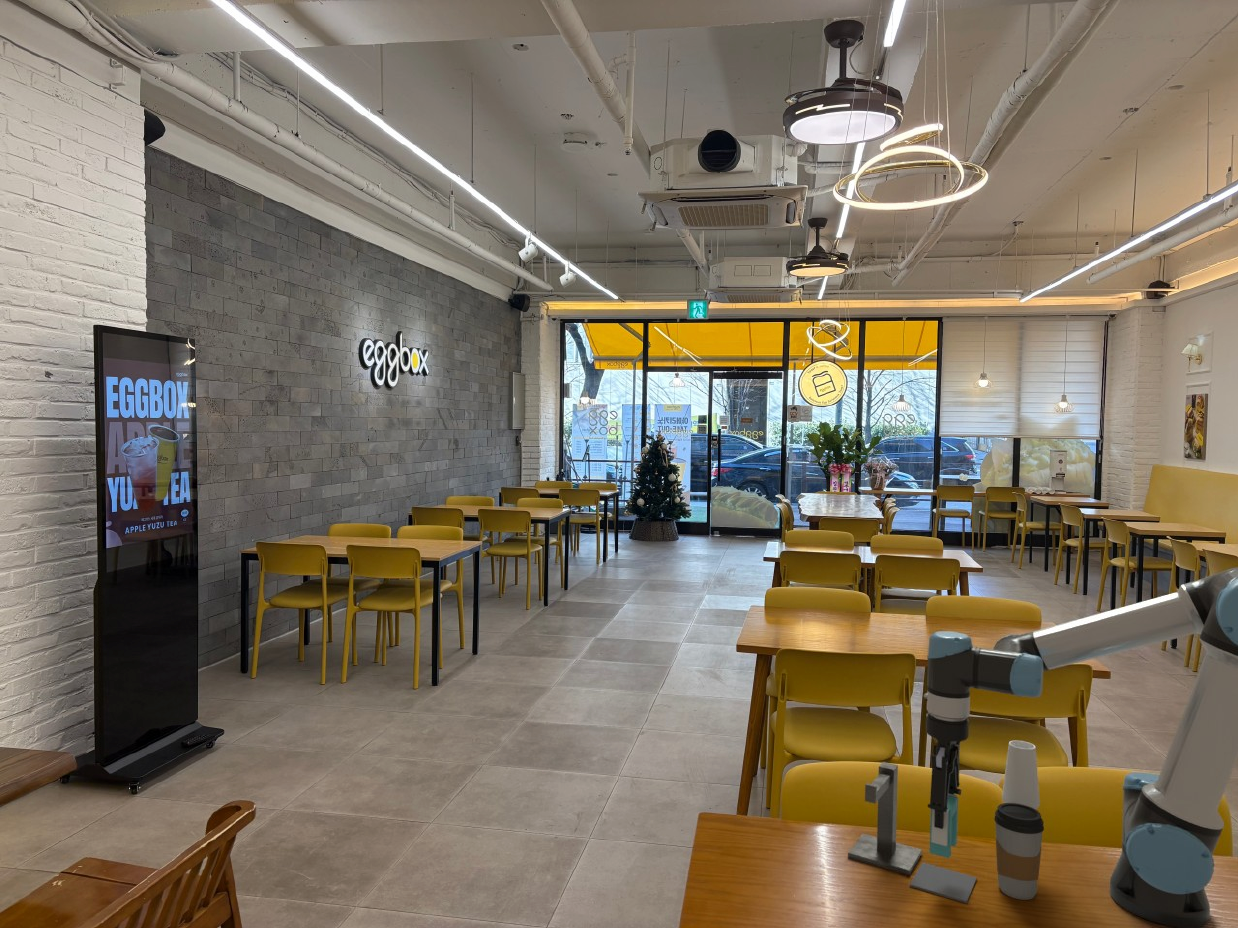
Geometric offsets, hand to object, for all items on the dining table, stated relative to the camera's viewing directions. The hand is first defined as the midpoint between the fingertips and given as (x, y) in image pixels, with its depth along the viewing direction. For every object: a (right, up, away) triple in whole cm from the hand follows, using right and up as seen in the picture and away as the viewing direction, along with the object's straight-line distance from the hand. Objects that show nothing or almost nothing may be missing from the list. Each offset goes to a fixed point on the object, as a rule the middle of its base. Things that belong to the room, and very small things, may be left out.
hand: (943, 834), depth 153 cm
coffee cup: (+13, -10, -2) cm, 16 cm away
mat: (0, -9, 0) cm, 9 cm away
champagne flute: (+18, -10, +7) cm, 22 cm away
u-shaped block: (0, -3, 0) cm, 3 cm away
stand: (-10, -9, +7) cm, 15 cm away
